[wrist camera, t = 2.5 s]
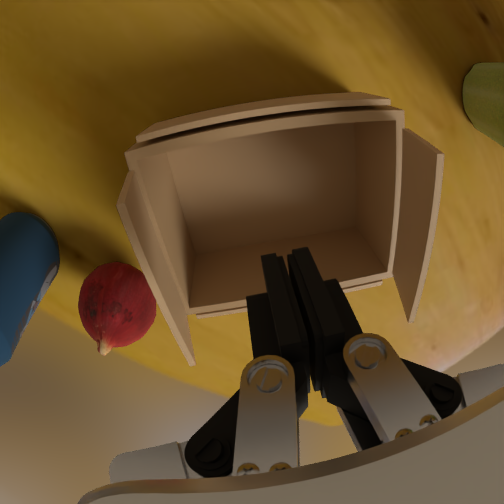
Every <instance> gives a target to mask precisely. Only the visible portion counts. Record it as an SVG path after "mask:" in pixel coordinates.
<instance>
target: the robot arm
mask: <svg viewBox="0 0 504 504" xmlns="http://www.w3.org/2000/svg"><path fill="white" fill-rule="evenodd" d="M261 262H262V268H263V274H264V279H265V285H266V291H267V292H266V293H260V294H255V295H250V296H246V303H247V311H248V319H249V327H250V335H251V342H252V350H253V358H254V359H253V360H252V361H251V362H249V363H248V364H247V365H246V367H245V368H244V369H243V371H242V375H241V382H240V389H239V390H238V391H237V392H236V393H235V394H234V395H233V396H232V397H231V398H230V399H229V400H228V401H227V402H226V403H225V404H224V405H223V406H222V407H221V408H220V410H218V411H217V412H216V413H215V414H214V416H212V418H210V419H209V420H208V422H206V423H205V424H204V425H203V426H202V427H201V428H200V429H199V430H198V431H197V432H196V433H195V434H194V435H193V436H192V437H191V439H190V440H189V441H186V442H183V443H178V442H172V443H169V444H164V445H160V446H156V447H151V448H146V449H142V450H137V451H132V452H126V453H122V454H120V455H117V456H116V457H115V458H114V459H113V460H112V462H111V464H110V467H109V475H110V481H111V484H108V485H105V486H102V487H99V488H96V489H94V490H92V491H90V492H88V493H86V494H85V495H84V496H83V497H82V498H81V499H80V500H79V502H78V504H504V364H498V365H495V366H491V367H487V368H483V369H479V370H474V371H469V372H465V373H460V374H458V375H457V377H451V376H448V375H447V374H443V373H441V372H438V371H435V370H432V369H430V368H427V367H424V366H421V365H418V364H416V363H413V362H410V361H408V360H405V359H402V358H400V357H399V356H398V354H397V353H396V352H395V350H394V349H393V347H392V346H391V345H390V343H389V342H388V341H387V340H386V339H385V338H383V337H381V336H379V335H377V334H372V333H363V332H362V330H361V327H360V325H359V323H358V321H357V319H356V317H355V315H354V313H353V310H352V308H351V306H350V304H349V302H348V300H347V298H346V296H345V294H344V292H343V290H342V288H341V286H340V284H339V282H338V280H337V279H336V278H334V279H330V280H325V281H323V279H322V277H321V274H320V272H319V270H318V268H317V266H316V263H315V261H314V259H313V257H312V255H311V253H310V250H309V248H308V247H302V248H297V249H292V254H288V255H287V262H288V271H289V274H288V271H287V268H286V265H285V262H284V259H283V256H277V255H276V253H271V254H266V255H261ZM310 377H311V380H312V384H313V388H314V391H319V390H320V392H321V395H322V398H327V402H329V403H331V404H333V405H335V406H336V407H337V410H338V412H339V414H340V416H341V418H342V421H343V423H344V425H345V427H346V429H347V431H348V432H349V435H350V437H351V439H352V441H353V443H354V445H355V447H356V449H357V451H358V452H356V453H353V454H350V455H346V456H342V457H339V458H335V459H331V460H327V461H323V462H319V463H314V464H310V465H305V466H300V444H299V443H300V442H299V417H300V416H301V415H302V414H303V412H304V411H305V410H306V408H307V407H308V393H310Z"/></svg>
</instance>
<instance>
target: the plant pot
mask: <svg viewBox="0 0 504 504" xmlns="http://www.w3.org/2000/svg"><path fill="white" fill-rule="evenodd" d="M463 104H464V109H465V112H466V114H467V116H468V117H469V119H470V120H471V122H472V124H473V126H474V127H475V128H476V129H477V130H479V131H480V132H482V133H484V134H485V135H487V136H488V137H490V138H491V139H493V140H494V141H496V142H497V143H499V144H500V145H501V146H503V147H504V62H492V63H477V64H475V65H473V68H472V69H471V71H470V72H469V73H468V74H467V75H466V76H465V79H464V83H463Z"/></svg>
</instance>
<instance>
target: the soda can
mask: <svg viewBox="0 0 504 504" xmlns="http://www.w3.org/2000/svg"><path fill="white" fill-rule="evenodd" d="M59 263H60V258H59V247H58V242H57V239H56V236H55V234H54V232H53V231H52V229H51V228H50V226H49V225H48V224H47V223H46V222H45V221H44V220H43V219H41V218H40V217H38V216H37V215H34V214H31V213H24V212H14V213H10V214H8V215H6V216H4V217H3V218H2V219H1V220H0V366H2V365H3V364H5V363H6V362H8V361H9V360H10V359H11V357H12V354H13V352H14V350H15V348H16V346H17V344H18V342H19V340H20V338H21V336H22V334H23V332H24V330H25V328H26V326H27V325H28V323H29V321H30V319H31V317H32V315H33V314H34V312H35V310H36V308H37V306H38V305H39V303H40V301H41V300H42V298H43V296H44V294H45V293H46V291H47V289H48V288H49V286H50V285H51V283H52V281H53V280H54V278H55V277H56V275H57V273H58V270H59Z"/></svg>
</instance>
